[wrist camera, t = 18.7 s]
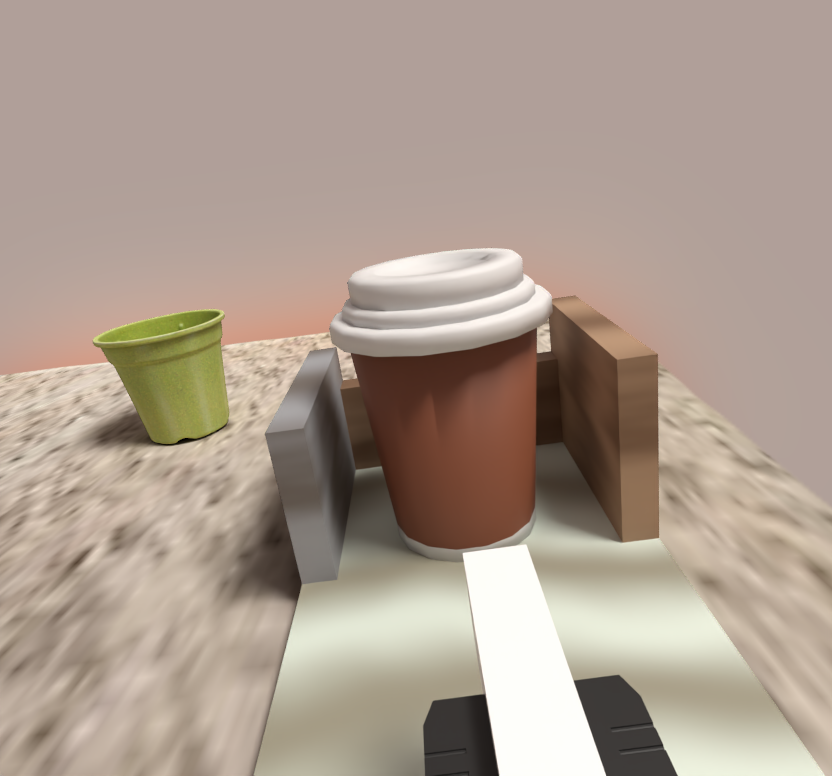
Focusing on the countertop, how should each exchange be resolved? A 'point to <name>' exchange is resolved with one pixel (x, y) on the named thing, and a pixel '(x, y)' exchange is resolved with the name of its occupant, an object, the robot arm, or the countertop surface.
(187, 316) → the plant pot
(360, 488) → the shelf
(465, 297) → the coffee cup
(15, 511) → the countertop surface
